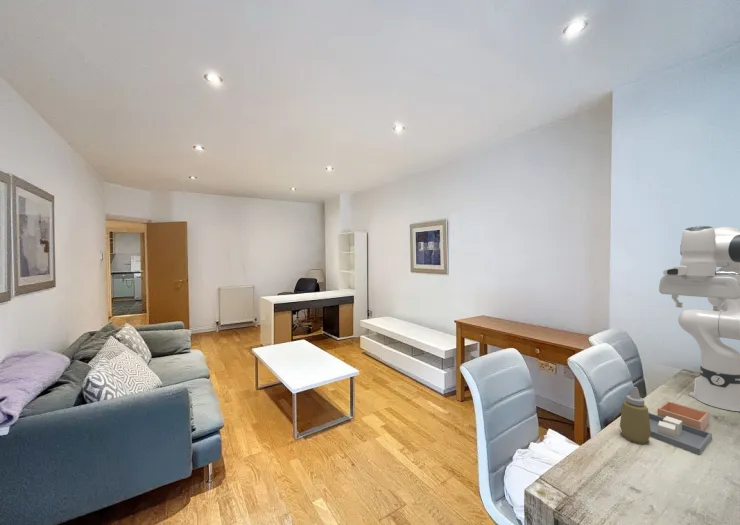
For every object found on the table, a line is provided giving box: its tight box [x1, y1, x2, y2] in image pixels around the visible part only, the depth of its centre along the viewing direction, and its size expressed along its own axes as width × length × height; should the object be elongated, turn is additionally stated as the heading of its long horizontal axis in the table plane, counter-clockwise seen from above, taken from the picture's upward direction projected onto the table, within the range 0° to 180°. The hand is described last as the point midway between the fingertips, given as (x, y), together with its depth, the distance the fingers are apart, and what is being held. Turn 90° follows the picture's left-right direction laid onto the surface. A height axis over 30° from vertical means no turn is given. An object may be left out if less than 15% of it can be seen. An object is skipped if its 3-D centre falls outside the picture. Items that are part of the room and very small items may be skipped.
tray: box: [649, 412, 713, 456], centre depth 105 cm, size 15×17×3 cm
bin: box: [657, 400, 710, 431], centre depth 113 cm, size 11×11×5 cm
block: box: [658, 421, 676, 439], centre depth 103 cm, size 4×4×4 cm
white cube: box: [663, 416, 682, 436], centre depth 106 cm, size 4×4×4 cm
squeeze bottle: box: [619, 386, 651, 445], centre depth 103 cm, size 8×8×18 cm
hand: (697, 309), depth 109 cm, fingers open, 8 cm apart
